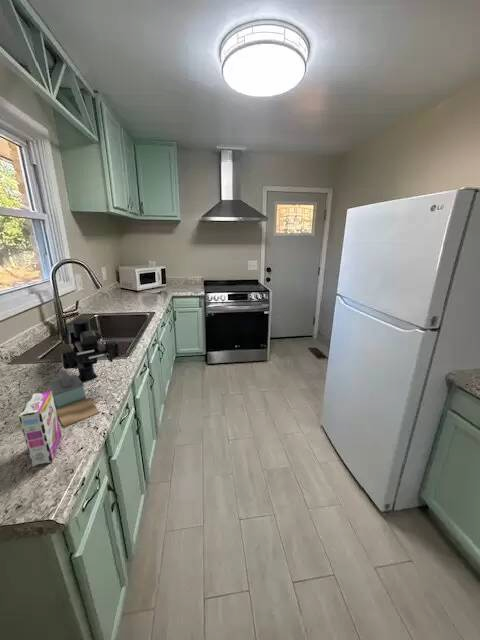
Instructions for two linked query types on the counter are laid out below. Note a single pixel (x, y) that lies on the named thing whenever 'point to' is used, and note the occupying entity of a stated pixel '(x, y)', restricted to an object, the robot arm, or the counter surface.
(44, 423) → the candy bar box
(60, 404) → the storage box
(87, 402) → the walnut board
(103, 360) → the counter surface
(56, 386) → the lid
